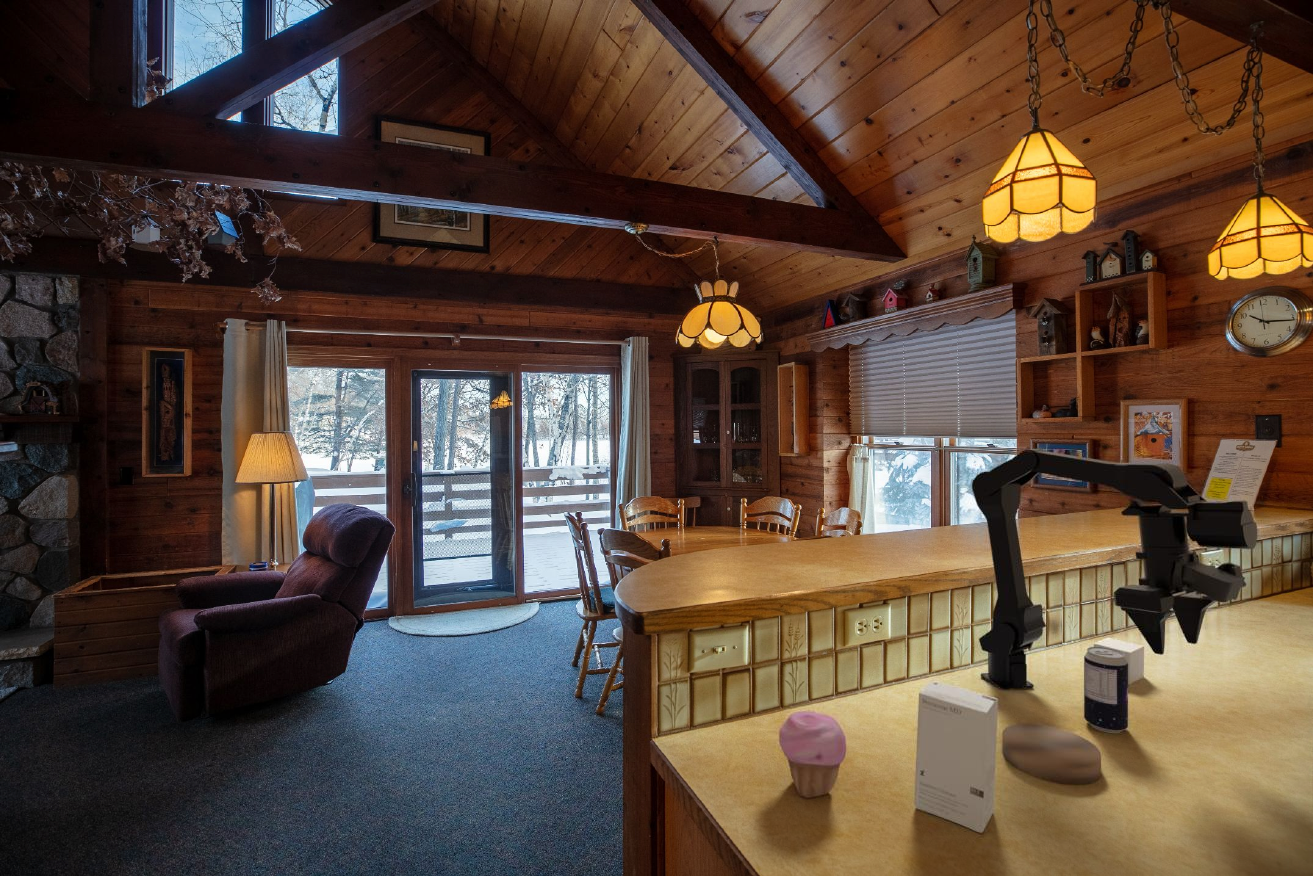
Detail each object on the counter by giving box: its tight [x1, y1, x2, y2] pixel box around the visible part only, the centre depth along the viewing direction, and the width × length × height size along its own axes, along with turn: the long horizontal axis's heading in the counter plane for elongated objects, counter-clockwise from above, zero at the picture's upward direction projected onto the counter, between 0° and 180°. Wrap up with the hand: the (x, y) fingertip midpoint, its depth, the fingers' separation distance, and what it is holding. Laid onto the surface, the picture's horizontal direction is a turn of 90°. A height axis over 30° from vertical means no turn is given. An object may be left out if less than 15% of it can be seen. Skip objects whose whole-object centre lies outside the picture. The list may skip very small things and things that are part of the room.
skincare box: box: [913, 680, 999, 834], centre depth 79 cm, size 8×6×15 cm
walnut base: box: [1001, 723, 1102, 786], centre depth 90 cm, size 12×12×2 cm
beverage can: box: [1083, 646, 1129, 734], centre depth 100 cm, size 6×6×12 cm
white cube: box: [1093, 637, 1145, 685], centre depth 120 cm, size 6×6×6 cm
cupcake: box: [778, 710, 847, 799], centre depth 84 cm, size 9×9×10 cm
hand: (1176, 648), depth 95 cm, fingers open, 9 cm apart
